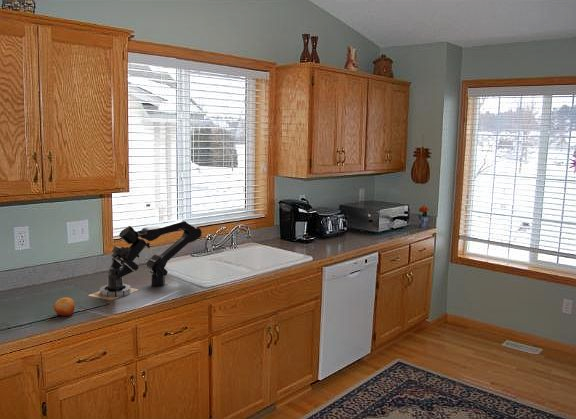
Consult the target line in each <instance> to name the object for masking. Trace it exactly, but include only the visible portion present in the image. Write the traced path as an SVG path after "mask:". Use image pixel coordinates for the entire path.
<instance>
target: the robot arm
mask: <svg viewBox="0 0 576 419" xmlns="http://www.w3.org/2000/svg"><path fill="white" fill-rule="evenodd" d="M179 230H181V231H183V233H182V235H181V237H180V238H178V239H177V240H176V242H174V243H173V244H171V245H170V246H169V247H168V248H167V249H166V250H165V251H163V253H161V254H159V255H157V254H154V255H152V256H151V257H150V258H148V259H147V262H146V269H147V270H148V271H149V273H150V274H151V287H152V288H158V287H163V286H168V284H167V283H166V276H168V272H169V271H168V270H167V269H166V268H165V267H166V266H167V264H168V262H169V261H170V260H171V259H172V258H173V257H174V256H176V255H177V254H178V253H179V252H180V251H182V250H183V249H184V248H185V247H186V246H187V245H188V244H191V243H193V242H196V241H197V240H199V239H200V238H201V237H202V234H203V233H202V229H201V228H199V227H197V226H193V225H192V224H189V223H188V222H187V221H185V220H183V219H182V220H181V219H178V220H176V221H174V222H170V223H167V224H162V225H160V226H148V227H143V228H142V229H141V230H137V231H136V230H135V229H134V228H133V227H132V226H130V225H128V226H127V227H125V228H123V229H122V230H120V232H119V235H118V236H119V238H120V239H122V240H123V241H124V242H125V243H126V244H127V245H129V246H127V247H124V246H121V247H119V246H117V245H114V246H113V249H112V251H111V253H112V254H111V261H112V262H111V265H110V267H109V268H111V267H120V272H119V273H118V275H117V276H116V278H117V279H119V278H121V277H123V278H124V277H125V276H127V275H129V274H132V273H134V272H136V271H138V269H139V265H138V264H137V263H136V262H135V260H136V259H138V258H140V254H141V253H142V251H144V249H145V248H147V249H150V247H151V246H150V245H151V244H150V243H151V242H153V241H155V240H157V239H158V238H160V237H161V236H163V235H166V234H170V233H173V232H176V231H179ZM109 273H110V272H109V271H108V272H107V274H109Z"/></svg>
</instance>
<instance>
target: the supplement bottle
mask: <svg viewBox="0 0 576 419" xmlns="http://www.w3.org/2000/svg"><path fill="white" fill-rule="evenodd" d="M110 267H111V266H110ZM110 267H109V270H108V272H110V273H109V274H108V273H107V274H108V275H107V276H106V277H107V279H106V280H107V285H108V291H119V290H123V284H124V276H123V277H121V278H119V279H117V278H116V276H117V275H118V273H119V272H120V270H121V267H111V268H110Z"/></svg>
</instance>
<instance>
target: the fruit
mask: <svg viewBox="0 0 576 419" xmlns="http://www.w3.org/2000/svg"><path fill="white" fill-rule="evenodd" d="M52 307H53V310H54V312H55V314H57V315H58V316H59V315H61V316H60V317H66V316H67V315H69V316H71V315H72V314H74V312H75V308H76V305H75V301H74V300H73V299H72V298H71V297H68V296H67V297H66V296H65V297H61V298H59V299H58V300H56V301H55V303H53V306H52Z"/></svg>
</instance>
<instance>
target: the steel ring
mask: <svg viewBox="0 0 576 419" xmlns="http://www.w3.org/2000/svg"><path fill="white" fill-rule="evenodd" d="M131 288H132V286H131V285H130V284H127V283H123V290H119V291H108V284H105V285H103V286H101V287H100V288H99V291H100V295H101V296H103V297H119V298H121V297H126V296H128V295H129V294H131V293H130V292H131Z"/></svg>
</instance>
